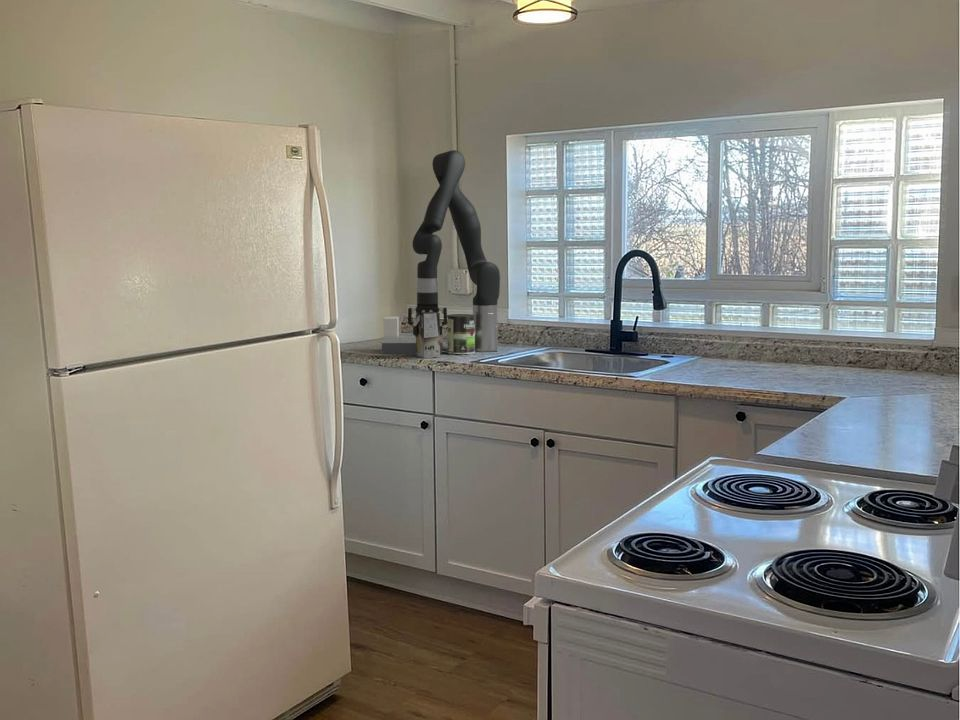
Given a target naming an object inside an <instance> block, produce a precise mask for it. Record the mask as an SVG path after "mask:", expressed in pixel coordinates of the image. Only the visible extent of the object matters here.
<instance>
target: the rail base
mask: <svg viewBox="0 0 960 720" xmlns="http://www.w3.org/2000/svg"><path fill="white" fill-rule="evenodd" d="M443 341H444V339H443V340H442V343H440V355H441V354H442V355H443V351H444V346H443V345H444V343H443ZM381 354H382V355H416V343H382V342H381Z"/></svg>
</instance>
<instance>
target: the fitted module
mask: <svg viewBox="0 0 960 720" xmlns="http://www.w3.org/2000/svg"><path fill="white" fill-rule="evenodd" d="M399 324H400V317H399V316H389V315H388V316H384V317H383V337H399V333H400V325H399Z"/></svg>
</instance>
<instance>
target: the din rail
mask: <svg viewBox="0 0 960 720" xmlns="http://www.w3.org/2000/svg"><path fill="white" fill-rule="evenodd" d="M442 340H443V341H444V339H443V332H442V335H440V343H442ZM382 343H416V337H415V335H413V332H408V333H406V332H405V333H404V332H399V337H384V336H382V337H381V344H382Z"/></svg>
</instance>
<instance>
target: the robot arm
mask: <svg viewBox="0 0 960 720" xmlns="http://www.w3.org/2000/svg"><path fill="white" fill-rule="evenodd" d="M465 167H466V159H465V157H464V154H463V153H461V151H459V150H454V149H453V150H448V151H444V152H441V153H439V154H436V155H435V156H434V157H433V158H432V170H433V172H434V176H435V179H436V180H437V183H438V185H439V186H438V188H436V189H437V190H435V192H434V194H433V196H432V197H431V199H430V200H429V203H428V205H427V207H426V210H425V211H426V212H425V214H424V218H423V221H422V223H421V224H420V226H419V228H418V229H417V231H416V233H415V234H414V236H413V239H412V249H413V251H414V253H416V254H417V255H426V258H425V260H423V261H420V262H418V263H417V268H416V269H417V272H416V273H417V274H416V276H417V277H416V278H417V281H416V307H409V308H408V309H407V324H408V325H410V326H412V333H413V335H415V337H417V323H418V322H419V321H420V315H419V312H438V313H441V314H442V315H443V321H441V320H440V335H442V333H443V326H445V325H448V318H447V315H448V312H447V311H448V308H447V307H446V306H445V307H439V282H438V265H439V262H440V257H441V253H442V249H443V243H442V240H441V237H440V236H438V235H437V234H434V233H436V232H440V231H442V228H443V226H444V222H445V219H446V215H447V211H448V210H449V212H450V216H451V219H452V220H451V221H452V223H453V226H454V229H455V231H456V234H457V237H458V239H459V242H460V245H461V248H462V250H463V251H462V252H463V253H464V258H465V261H466V266H467V270H468V274H469V278H470V280H471V282H473V284H475V286H476V291H475V292H476V293H475V295H474V296H473V298H472V315H475V352H480V353H481V352H483V353H484V352H498V351H499V350H498V349H499V347H498V335H499V334H498V333H499V332H498V329H499V328H498V300H499V299H500V291H501V289H500V288H501V287H500V285H501V275H500V274H501V273H500V269H499V267H498V266H497V265H496V264H495V263H494V262H491V261H488V260H487V259H486V256H485V254H484V251H483V248H482V246H483V245H482V229H481V228H482V227H481V223H480V219H479V216H478V214H477V213H478V212H477V211H476V208H475V206H474V205H473V203H472V202H471V200H469V199H468V197H467V196H466V195H465V194H464V193H463V191H462V190H461V188H460V187H459V185H458V184H459V182H460V180H461V178H462V176H463V173H464V170H465ZM416 312H417V313H418V315H419V316H418V318H417V319H416V318H415V320H414V321H412V319H413V318H412V317H413V314H414V313H416Z"/></svg>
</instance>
